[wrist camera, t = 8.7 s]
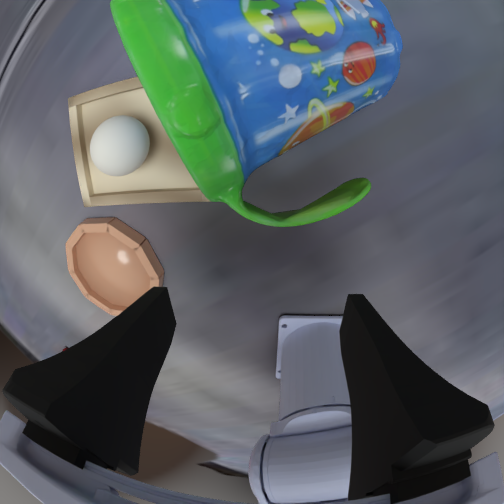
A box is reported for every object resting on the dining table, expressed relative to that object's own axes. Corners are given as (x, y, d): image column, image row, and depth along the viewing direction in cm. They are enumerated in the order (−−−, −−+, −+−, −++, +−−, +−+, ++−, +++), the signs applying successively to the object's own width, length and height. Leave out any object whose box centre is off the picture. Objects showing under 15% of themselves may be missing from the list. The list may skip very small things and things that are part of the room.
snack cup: (266, -22, 12) (128, 25, 12) (317, -112, 2) (73, -64, 2) (359, 160, 18) (227, 223, 18) (481, 183, 8) (258, 313, 8)
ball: (148, 176, 18) (119, 194, 15) (106, 155, 17) (72, 170, 14) (168, 124, 16) (139, 131, 13) (122, 105, 16) (87, 110, 12)
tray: (218, 195, 19) (214, 201, 18) (92, 201, 20) (84, 207, 19) (211, 67, 14) (206, 64, 13) (77, 97, 16) (68, 98, 14)
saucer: (174, 314, 25) (170, 323, 24) (90, 303, 26) (85, 310, 25) (153, 216, 20) (146, 222, 19) (60, 219, 21) (53, 225, 20)
